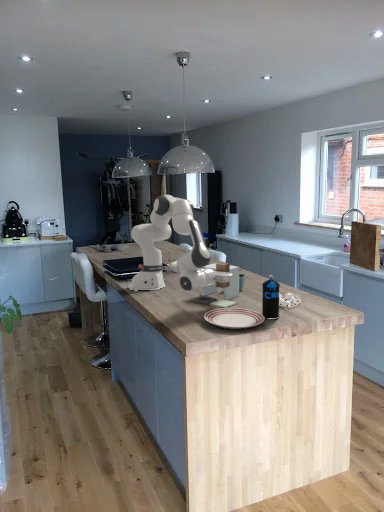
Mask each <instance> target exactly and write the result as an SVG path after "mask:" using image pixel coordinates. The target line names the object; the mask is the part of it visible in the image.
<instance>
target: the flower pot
mask: <svg viewBox="0 0 384 512" xmlns="http://www.w3.org/2000/svg"><path fill="white" fill-rule="evenodd" d="M246 275H247V274H245V273H239V292H241V290H242V289H244V286H245V282H246Z"/></svg>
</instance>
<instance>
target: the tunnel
mask: <svg viewBox="0 0 384 512" xmlns="http://www.w3.org/2000/svg"><path fill="white" fill-rule="evenodd" d="M216 264H217V262H216V263H211V264H208V265H207V266H205V267H203V268H201V269H206V268H209V269H211V270H214V271H216ZM230 273H232V274H233V281H230V286H229V287H226V288H223V300H227V301H230V300H231V299H234V298H237V297H240V291H239V274H240V266H238V265H237V266H235V265H230ZM217 292H218V287H216V281H215V283H214V284H213V285H212V286H208V287H205V288H201V296H207V295H210V294H211V295H212V294H214V293H217Z"/></svg>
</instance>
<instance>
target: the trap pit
mask: <svg viewBox="0 0 384 512" xmlns="http://www.w3.org/2000/svg"><path fill="white" fill-rule="evenodd" d="M215 301H217V298H216V297H212V296H207V295H205V296H203V295H201V296H199V297H194V298H192V302H194V303H197V304H198V303H199V304H202V305H207V304H210V303H212V302H215Z"/></svg>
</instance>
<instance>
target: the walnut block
mask: <svg viewBox="0 0 384 512" xmlns="http://www.w3.org/2000/svg"><path fill="white" fill-rule="evenodd" d="M230 266H231V265H230V263H228V262H218V263H216V271H220V272H230ZM229 286H230V282H225V283H222V282H216V287H217V288H222V289H224V288H226V287H229Z"/></svg>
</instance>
